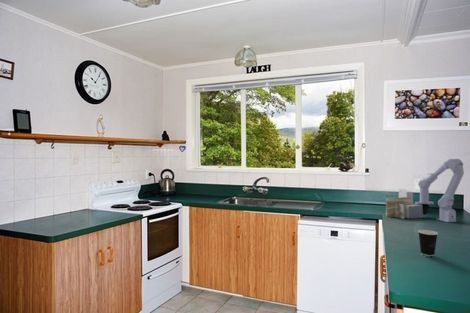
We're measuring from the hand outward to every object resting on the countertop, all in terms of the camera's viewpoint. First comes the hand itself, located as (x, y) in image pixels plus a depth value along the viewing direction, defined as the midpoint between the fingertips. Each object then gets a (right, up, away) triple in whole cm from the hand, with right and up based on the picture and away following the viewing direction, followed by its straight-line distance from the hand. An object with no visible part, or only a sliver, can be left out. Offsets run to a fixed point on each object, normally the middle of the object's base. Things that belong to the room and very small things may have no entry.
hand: (424, 214), depth 231 cm
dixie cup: (-52, -3, -88) cm, 102 cm away
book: (-9, -2, -2) cm, 9 cm away
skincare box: (+4, -2, +33) cm, 33 cm away
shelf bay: (-18, -2, -2) cm, 18 cm away
